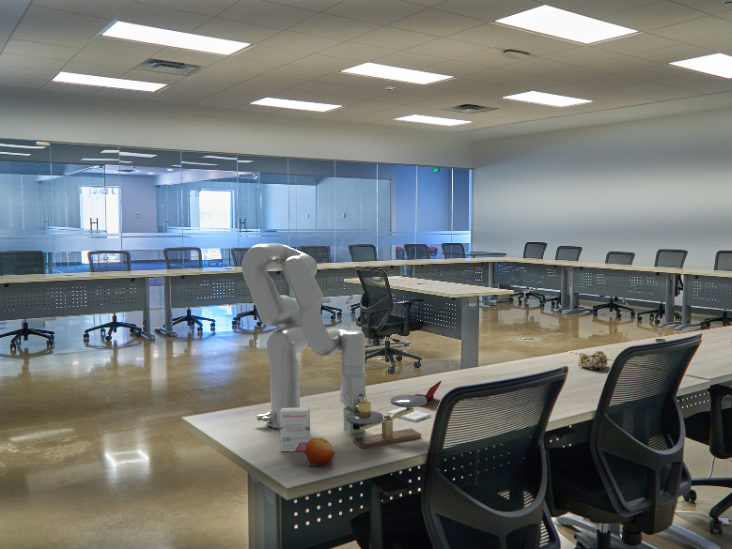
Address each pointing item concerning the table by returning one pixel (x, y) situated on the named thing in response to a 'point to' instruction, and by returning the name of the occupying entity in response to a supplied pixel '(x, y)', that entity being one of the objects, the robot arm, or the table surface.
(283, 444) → the ink box
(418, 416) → the external hard drive
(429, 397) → the handheld game console
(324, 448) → the fruit
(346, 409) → the sage block
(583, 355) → the mineral formation
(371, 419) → the balance
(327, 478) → the table surface
